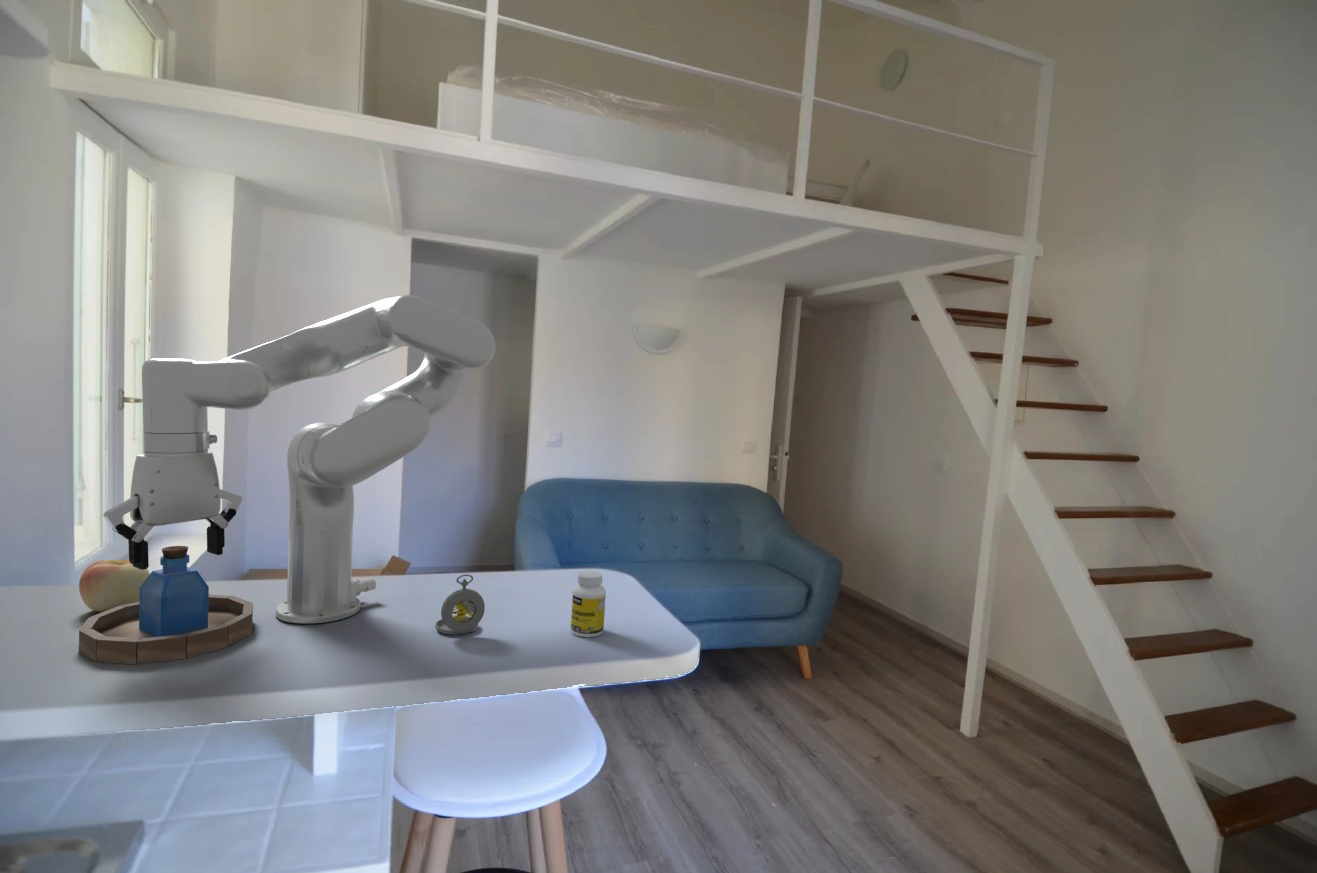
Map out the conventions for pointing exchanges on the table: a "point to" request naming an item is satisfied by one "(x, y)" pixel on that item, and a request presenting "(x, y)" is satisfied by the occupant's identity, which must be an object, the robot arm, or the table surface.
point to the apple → (111, 584)
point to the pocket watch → (461, 611)
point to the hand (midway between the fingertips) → (179, 560)
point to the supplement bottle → (588, 605)
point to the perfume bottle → (173, 597)
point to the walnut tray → (123, 642)
